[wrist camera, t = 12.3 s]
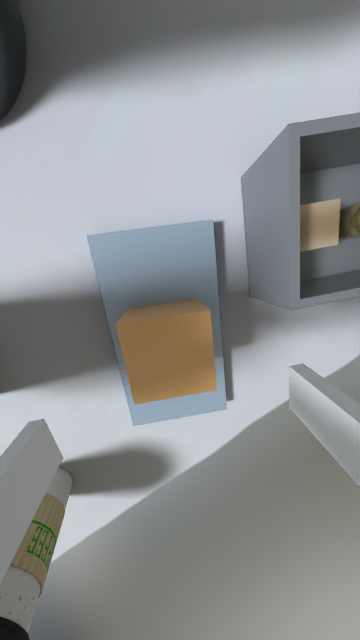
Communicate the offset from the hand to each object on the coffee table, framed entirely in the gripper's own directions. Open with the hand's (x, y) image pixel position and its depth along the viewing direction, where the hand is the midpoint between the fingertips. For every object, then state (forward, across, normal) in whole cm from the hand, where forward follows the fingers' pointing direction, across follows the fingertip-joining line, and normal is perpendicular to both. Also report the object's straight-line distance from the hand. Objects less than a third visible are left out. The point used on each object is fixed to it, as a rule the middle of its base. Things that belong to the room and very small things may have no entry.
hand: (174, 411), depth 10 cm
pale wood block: (+14, -16, -8) cm, 23 cm away
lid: (+14, 0, +1) cm, 14 cm away
